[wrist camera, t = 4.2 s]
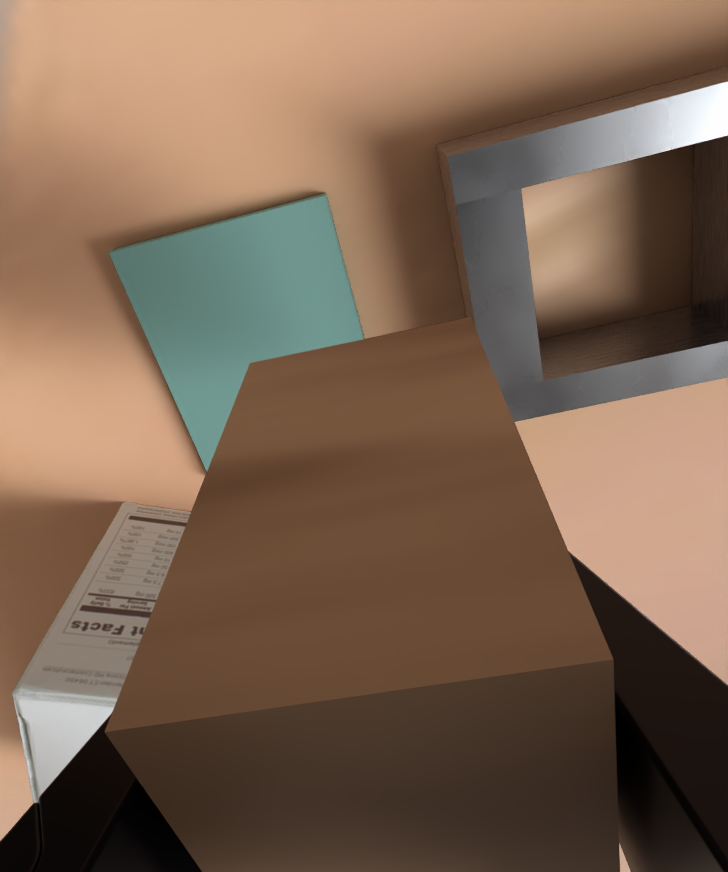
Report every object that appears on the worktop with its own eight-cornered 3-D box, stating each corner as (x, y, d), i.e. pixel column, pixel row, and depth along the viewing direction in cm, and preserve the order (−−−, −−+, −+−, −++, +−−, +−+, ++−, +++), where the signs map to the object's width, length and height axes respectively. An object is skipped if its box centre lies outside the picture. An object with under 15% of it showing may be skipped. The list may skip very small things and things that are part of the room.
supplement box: (371, 776, 34) (373, 992, 26) (129, 750, 33) (52, 968, 25) (440, 539, 26) (472, 750, 18) (119, 496, 25) (-1, 698, 17)
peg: (496, 499, 14) (621, 913, 7) (307, 532, 15) (256, 947, 8) (469, 317, 12) (613, 658, 5) (249, 363, 12) (104, 731, 6)
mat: (391, 440, 23) (392, 447, 23) (215, 477, 24) (212, 484, 24) (326, 192, 19) (324, 195, 19) (114, 248, 20) (108, 253, 19)
